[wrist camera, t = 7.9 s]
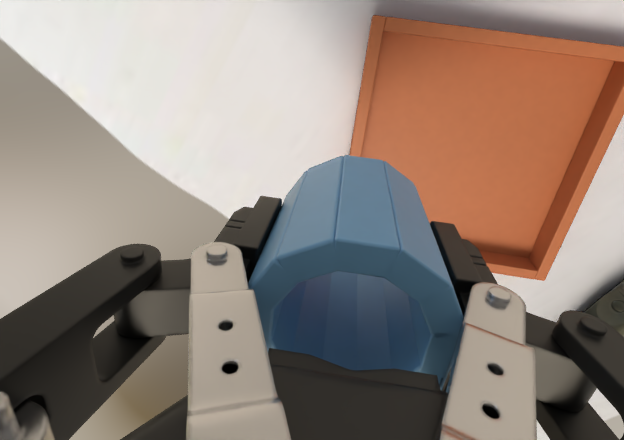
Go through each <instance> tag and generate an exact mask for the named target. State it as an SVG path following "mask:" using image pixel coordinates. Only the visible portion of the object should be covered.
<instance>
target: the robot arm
mask: <svg viewBox="0 0 624 440" xmlns="http://www.w3.org/2000/svg"><path fill="white" fill-rule="evenodd" d="M281 207H282V200H281V199H280V198H273V197H266V196H260V198H259V200H258V201H257V203H256V205H255V206H254V208H249V207H243V208H241V209H239V210H237V211H236V212H234V213H233V215H232V216H231V218H230V219H229V221H228V222H227V224H226V225H225V227H224V228H223V230H222V231H221V232H220V234H219V235H218V237H217V238H216V240H215V241H214V242H212V243H207V244H203V245H201V246H199V247H197V248H196V249H194V251H193V252H192V254H191V259H185V260H167V261H161V254H160V252H159V250H158V249H157V248H155V247H153V246H151V245H146V244H130V245H126V246H121V247H118V248H116V249H114V250H112V251H110V252H109V253H107V254H105V255H104V256H102V257H101V258H99V259H97V260H96V261H94V262H92V263H91V264H89V265H87V266H86V267H84V268H83V269H81V270H79V271H78V272H76V273H74V274H73V275H71V276H70V277H68V278H66V279H65V280H63V281H61V282H60V283H58V284H56V285H55V286H53V287H52V288H50V289H48V290H47V291H45V292H44V293H42V294H40V295H39V296H37V297H35V298H34V299H32V300H30V301H29V302H27V303H25V304H24V305H22V306H21V307H19V308H17V309H16V310H14V311H12V312H11V313H9V314H8V315H6V316H4V317H3V318H1V319H0V440H69V439H70V438H71V437H72V435H74V433H75V432H76V431H77V430H78V429H79V428H80V427H81V426H82V425H83V424H84V423H85V422H86V421H87V420H88V419H89V418H90V417H91V416H92V415H93V414H94V413H95V411H97V410H98V409H99V407H100V406H101V405H102V404H103V403H104V402H105V401H106V400H107V399H108V398H109V397H110V396H111V395H112V394H113V393H114V392H115V391H116V390H117V389H118V388H119V387H120V386H121V385H122V384H123V383H124V382H125V380H126V379H127V378H128V377H129V376H130V375H131V374H132V373H133V372H134V371H135V370H136V369H137V368H138V367H139V366H140V365H141V364H142V363H143V362H144V361H145V360H146V359H147V358H148V356H150V354H151V353H152V352H153V351H154V350H155V349H156V348H157V347H158V346H159V345H160V344H161V343H162V342H163V341H164V339H165V338H166V336H170V335H182V334H189V355H188V356H189V357H188V358H189V359H188V360H189V361H188V395H187V396H185V397H184V398H182V399H181V400H179V401H178V402H176V403H175V404H173V405H172V406H170V407H169V408H167V409H166V410H164V411H163V412H161V413H160V414H158V415H157V416H155V417H154V418H152V419H151V420H149V421H148V422H146V423H145V424H143V425H142V426H140V427H139V428H137V429H136V430H134V431H133V432H131V433H130V434H128V435H127V436H125V437H123V438H122V439H120V440H537V426H536V419H537V421H538V422H539V424H540V425H541V427H542V428H543V430H544V431H545V432H546V434H547V435H548V437H549V438H550V440H619V439H618V438H617V436H616V435H615V434H614V433H613V432H612V430H611V429H610V428H609V427H608V426H607V424H606V423H605V422H604V421H603V420H602V419H601V417H600V416H599V415H598V414H597V413H596V411H595V410H594V409H593V408H592V407H591V405H590V404H589V403H588V401H589V399H590V398H591V396H592V395H593V393H594V392H595V390H596V389H597V388H598V390H599V391H600V392H601V393H602V394H603V395H604V396H605V397H606V398H607V400H608V401H609V402H610V403H611V404H612V405H613V406H614V407H615V408H616V410H617V411H618V412H619V414H620V415H621V417H622V419H623V422H624V337H623V336H622V335H621V334H620V333H619V332H618V331H617V330H615V329H614V328H613V327H612V326H610V325H609V324H608V323H606V322H604V321H603V320H601V319H599V318H597V317H595V316H592V315H590V314H587V313H583V312H579V311H565V312H563V313H562V314H561V315H560V317H559V319H558V321H557V323H556V322H553V321H550V320H547V319H544V318H541V317H538V316H535V315H533V314H530V313H528V312H526V305H525V303H524V301H523V300H522V299H521V297H520V296H518V295H517V294H516V293H514V292H513V291H511V290H510V289H508V288H506V287H503V286H501V285H498V284H497V282H496V280H495V278H494V277H493V275H492V273H491V271H490V269H489V267H488V266H487V264H486V262H485V260H484V259H483V257H482V255H481V253H480V251H479V249H478V248H477V247H476V246H475V245H473V244H472V243H471V242H470V241H468V240H466V239H461V237H460V235H459V233H458V231H457V229H456V227H455V225H454V224H451V223H444V222H437V221H431V222H430V226H431V229H432V231H433V234H434V237H435V239H436V242H437V245H438V247H439V250H440V253H441V255H442V258H443V261H444V264H445V266H446V269H447V272H448V274H449V277H450V280H451V282H452V285H453V288H454V291H455V294H456V297H457V299H458V302H459V305H460V308H461V311H462V314H463V317H464V318H463V321H462V324H461V327H460V330H459V333H458V337H457V341H456V345H455V348H454V351H453V354H452V357H451V360H450V362H449V365H448V368H447V370H446V373H445V376H444V378H441V380H440V383H439V382H438V377H437V375H432V374H426V373H420V372H414V371H408V370H401V369H395V368H394V369H374V370H350V369H347V368H344V367H341V366H339V365H336V364H333V363H331V362H328V361H326V360H323V359H320V358H318V357H315V356H312V355H310V354H304V353H298V352H292V351H285V350H279V349H273V348H269V351H268V352H267V347H266V342H265V338H264V333H263V329H262V324H261V320H260V315H259V310H258V306H257V301H256V297H255V292H254V290H253V289H249V287H248V282H249V280H250V278H251V276H252V273H253V271H254V269H255V266H256V264H257V262H258V260H259V257H260V255H261V253H262V250H263V248H264V246H265V244H266V241H267V239H268V237H269V234H270V232H271V230H272V228H273V225H274V223H275V221H276V218H277V216H278V214H279V212H280V209H281ZM112 315H114V319H115V321H114V322H112V323H111V324H110V325H109V326H107V327H106V328H105V329H104V330H103V331H101V332H100V333H99V334H98V335H97V336H95V337H94V338H93V336H94V334H95V332H96V330H97V329H98V328H99V327H100V326H101V325H102V323H104V322H105V321H106V320H108V319H109V318H110V317H111V316H112ZM620 440H624V434H623V437H622V438H621V439H620Z"/></svg>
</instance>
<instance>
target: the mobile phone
mask: <svg viewBox="0 0 624 440" xmlns="http://www.w3.org/2000/svg"><path fill="white" fill-rule="evenodd" d="M584 313H587V314H590V315H592V316H595V317H597V318H599V319H601V320H603V321H604V322H606V323H608V324H609V325H610V326H612V327H613V328H614V329H615V330H617V331H618V332H619V333H620V334H621V335H622V336H623V337H624V280H623V281H622V282H621V283H620V284H618V285H617V286H616V287H615V288H614V289H613V290H611V291H610V292H608V293H607V294H606V295H604V296H603V297H602V298H600V299H599V300H598V301H597V302H596V303H594V304H593V305H592V306H591V307H590V308H589V309H588V310H586V311H585V312H584Z"/></svg>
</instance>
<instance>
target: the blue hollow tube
mask: <svg viewBox="0 0 624 440" xmlns="http://www.w3.org/2000/svg"><path fill="white" fill-rule="evenodd" d="M248 287H249V289H253V290H254V292H255V297H256V301H257V306H258V310H259V315H260V320H261V324H262V329H263V333H264V338H265V342H266V347H267V352H268V351H269V348H273V349H279V350H285V351H292V352H298V353H304V354H310V355H312V356H315V357H318V358H320V359H323V360H326V361H328V362H331V363H333V364H336V365H339V366H341V367H344V368H347V369H350V370H374V369H394V368H395V369H401V370H408V371H414V372H420V373H426V374H432V375H437V377H438V382H439V383H440V380H441V378H444V376H445V373H446V370H447V368H448V365H449V362H450V360H451V357H452V354H453V351H454V348H455V345H456V341H457V337H458V333H459V330H460V327H461V324H462V321H463V318H464V317H463V314H462V311H461V308H460V305H459V302H458V299H457V297H456V294H455V291H454V288H453V285H452V282H451V280H450V277H449V274H448V272H447V269H446V266H445V264H444V261H443V258H442V255H441V253H440V250H439V247H438V245H437V242H436V239H435V237H434V234H433V231H432V229H431V226H430V223H429V221H428V218H427V215H426V213H425V210H424V207H423V205H422V202H421V199H420V196H419V194H418V191H417V188H416V186H415V185H414V183H413V182H412V181H410V180H409V179H408V178H406V177H405V176H404V175H403V174H401V173H400V172H399V171H397V170H396V169H395V168H394V167H392V166H391V165H390V164H389V163H387V162H386V161H384V162H383V160H379V159H371V158H364V157H357V156H349V155H345V156H344V157H343V156H340V157H337V158H335V159H332V160H330V161H327V162H324V163H322V164H319V165H317V166H314V167H312V168H309V169H308V171H305V172H304V174H303V175H302V176H301V178H300V179H299V180H298V181H297V183H296V184H295V185H294V187H293V188H292V189H291V190H290V192H289V193H288V194H287V196H286V198H285V200H284V203H283V205H282V207H281V209H280V212H279V214H278V216H277V218H276V221H275V223H274V225H273V228H272V230H271V232H270V234H269V237H268V239H267V241H266V244H265V246H264V248H263V250H262V253H261V255H260V257H259V260H258V262H257V264H256V266H255V269H254V271H253V273H252V276H251V278H250V280H249V282H248Z"/></svg>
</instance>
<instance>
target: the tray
mask: <svg viewBox="0 0 624 440" xmlns="http://www.w3.org/2000/svg"><path fill="white" fill-rule="evenodd" d="M623 115H624V47H623V46H615V45H607V44H599V43H591V42H583V41H576V40H568V39H560V38H552V37H544V36H536V35H528V34H520V33H512V32H504V31H496V30H489V29H481V28H473V27H465V26H457V25H449V24H441V23H433V22H425V21H417V20H409V19H402V18H394V17H385V16H378V15H373V17H372V21H371V27H370V33H369V39H368V45H367V51H366V57H365V63H364V69H363V75H362V81H361V87H360V93H359V100H358V106H357V112H356V118H355V124H354V130H353V136H352V142H351V148H350V154H349V156H357V157H364V158H371V159H379V160H383V162H384V161H386V162H387V163H389V164H390V165H391V166H392V167H394V168H395V169H396V170H397V171H399V172H400V173H401V174H403V175H404V176H405V177H406V178H408V179H409V180H410V181H412V182H413V183H414V185H415V186H416V188H417V191H418V194H419V196H420V199H421V202H422V205H423V207H424V210H425V213H426V215H427V218H428V221H429V223H430V222H431V221H437V222H444V223H451V224H454V225H455V227H456V229H457V231H458V233H459V235H460V237H461V239H466V240H468V241H470V242H471V243H472V244H473V245H475V246H476V247H477V248H478V249H479V251H480V253H481V255H482V257H483V259H484V260H485V262H486V264H487V266H488V267H489V269H490V271H491V272H492V273H498V274H504V275H511V276H517V277H523V278H529V279H537V280H543V281H544V280H545V278H546V276H547V274H548V272H549V270H550V268H551V266H552V264H553V262H554V259H555V257H556V255H557V253H558V251H559V249H560V247H561V245H562V243H563V241H564V238H565V236H566V234H567V232H568V230H569V228H570V226H571V224H572V222H573V220H574V217H575V215H576V213H577V211H578V209H579V207H580V205H581V203H582V201H583V199H584V196H585V194H586V192H587V190H588V188H589V186H590V184H591V182H592V180H593V178H594V175H595V173H596V171H597V169H598V167H599V165H600V163H601V161H602V159H603V157H604V154H605V152H606V150H607V148H608V146H609V144H610V142H611V140H612V138H613V136H614V133H615V131H616V129H617V127H618V125H619V123H620V121H621V119H622V117H623Z"/></svg>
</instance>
